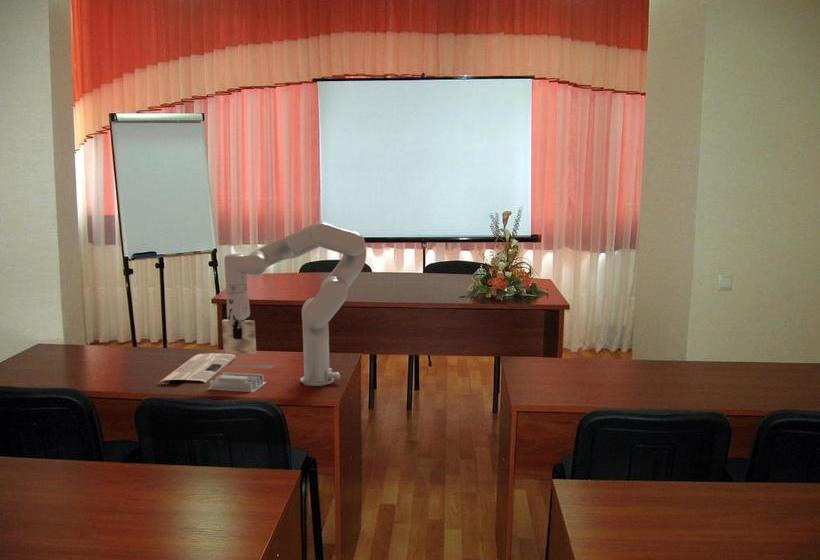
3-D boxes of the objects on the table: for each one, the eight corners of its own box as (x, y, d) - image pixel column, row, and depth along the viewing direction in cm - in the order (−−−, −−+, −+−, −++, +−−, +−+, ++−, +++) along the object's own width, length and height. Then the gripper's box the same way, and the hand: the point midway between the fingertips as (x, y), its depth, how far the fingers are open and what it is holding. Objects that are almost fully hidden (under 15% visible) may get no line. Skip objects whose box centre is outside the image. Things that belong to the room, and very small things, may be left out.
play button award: (218, 379, 283) (235, 364, 302) (218, 383, 283) (235, 368, 302) (260, 380, 281) (274, 365, 301) (260, 383, 281) (274, 368, 301)
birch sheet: (256, 352, 275) (254, 320, 273) (254, 354, 273) (252, 321, 271) (226, 351, 278) (224, 319, 276) (223, 352, 276) (221, 320, 274)
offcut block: (248, 387, 272) (248, 376, 271) (244, 389, 269) (244, 379, 268) (222, 385, 274) (222, 375, 273) (219, 388, 271) (218, 377, 271)
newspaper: (205, 387, 278) (205, 379, 278) (154, 386, 280) (154, 379, 279) (235, 360, 314) (235, 353, 314) (190, 359, 316) (190, 353, 315)
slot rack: (267, 384, 279) (266, 374, 278) (253, 394, 267) (253, 383, 266) (222, 381, 282) (221, 371, 282) (207, 391, 271) (206, 380, 270)
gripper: (236, 292, 263) (239, 343, 266) (255, 284, 278) (257, 333, 281) (216, 292, 265) (219, 343, 268) (236, 284, 280) (239, 332, 283)
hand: (239, 337), depth 275 cm, fingers closed on birch sheet, 2 cm apart
